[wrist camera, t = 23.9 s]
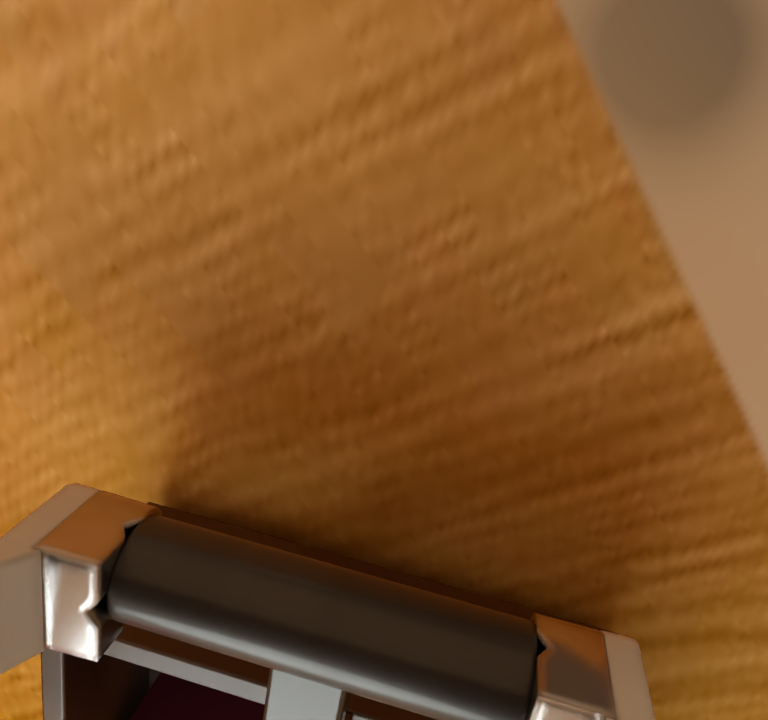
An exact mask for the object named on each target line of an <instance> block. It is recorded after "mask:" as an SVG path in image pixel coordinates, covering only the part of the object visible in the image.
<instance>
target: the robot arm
mask: <svg viewBox="0 0 768 720" xmlns="http://www.w3.org/2000/svg"><path fill="white" fill-rule="evenodd" d="M153 515H160V516H162V511H161V510H160V509H159V508H158V507H156V506H152V505H149V504H146V503H142V502H139V501H136V500H133V499H129V498H126V497H123V496H120V495H116V494H113V493H110V492H107V491H101V490H98V489H95V488H92V487H88V486H85V485H82V484H78V483H73V484H68V485H66V486H65V487H64V488H62V489H61V490H60V491H59V492H57V493H56V494H55V495H54V496H52V497H51V498H50V499H49V500H47V501H46V502H45V503H44V504H42V505H41V506H40V507H39V508H37V509H36V510H35V511H34V512H32V513H31V514H30V515H29V516H27V517H26V518H25V519H24V520H22V521H21V522H20V523H19V524H17V525H16V526H15V527H14V528H12V529H11V530H10V531H9V532H7V533H6V534H5V535H4V536H2V537H1V538H0V674H2V673H4V672H6V671H7V670H9V669H11V668H13V667H15V666H17V665H19V664H20V663H22V662H24V661H26V660H28V659H30V658H31V657H33V656H35V655H37V654H39V653H41V652H43V651H44V647H45V648H48V649H52V650H55V651H59V652H63V653H66V654H70V655H73V656H77V657H80V658H84V659H87V660H91V661H95V662H98V660H99V659H100V658H101V657H102V655H103V654H104V653H105V651H106V650H107V649H108V648H109V646H110V645H111V644H112V643H113V641H114V640H115V639H116V638H117V636H118V635H119V634H120V632H121V631H122V630H123V623H120V622H117V621H115V620H114V619H113V618H112V617H111V616H110V615H109V613H108V610H107V603H106V599H107V592H108V589H109V584H110V580H111V576H112V573H113V570H114V567H115V564H116V562H117V559H118V557H119V555H120V552H121V550H122V549H123V547H124V545H125V541H126V540H127V538H128V537H129V535H130V534H131V532H132V531H133V530H134V528H135V527H136V526H137V525H138V524H139V523H140V522H142V521H143V520H144V519H146V518H147V517H149V516H153ZM530 621H531V622H532V623H534V625H535V628H536V634H537V642H538V649H537V660H536V662H535V670H534V677H533V684H532V689H531V694H530V699H529V704H528V708H527V712H526V716H525V720H656V719H655V714H654V710H653V705H652V701H651V696H650V692H649V687H648V683H647V678H646V674H645V669H644V665H643V660H642V656H641V651H640V647H639V644H638V642H637V641H636V640H635V639H634V638H630V637H626V636H622V635H618V634H615V633H611V632H607V631H603V630H600V631H599V630H596V629H592V628H588V627H585V626H581V625H577V624H574V623H570V622H567V621H563V620H559V619H556V618H552V617H548V616H545V615H541V614H537V613H533V615H532V617H531V618H530Z"/></svg>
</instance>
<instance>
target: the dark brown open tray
mask: <svg viewBox="0 0 768 720" xmlns="http://www.w3.org/2000/svg"><path fill="white" fill-rule="evenodd" d="M147 504H149V505H152V506H156V507H158V508H159V509H160V510H161V511H162V516H160V515H153V516H149V517H147V518H146V519H144V520H143V521H142V522H140V523H139V524H138V525H137V526H136V527H135V528H134V530H133V531H132V532H131V534H130V535H129V537H128V538H127V540H126V541H125V545H124V547H123V549H122V550H121V552H120V555H119V557H118V559H117V562H116V564H115V567H114V570H113V573H112V576H111V580H110V584H109V589H108V592H107V599H106V603H107V610H108V613H109V615H110V616H111V617H112V618H113V619H114V620H115V621H117V622H120V623H123V630H122V631H121V632H120V634H119V635H118V636H117V638H116V639H115V640H114V641H113V643H112V644H111V645H110V646H109V648H108V649H107V650H106V651H105V653H104V654H103V655H102V657H101V658H100V659H99V660H98V662H95V661H91V660H87V659H84V658H80V657H77V656H73V655H70V654H66V653H63V652H59V651H55V650H52V649H48V648H45V647H44V651H43V652H41V673H42V701H43V720H130V718H131V717H132V715H133V714H134V712H135V711H136V709H137V708H138V706H139V704H140V703H141V701H142V700H143V698H144V697H145V695H146V694H147V692H148V691H149V689H150V688H151V686H152V685H153V683H154V682H155V680H156V679H157V677H158V676H159V674H160V673H161V672H162V673H165V674H168V675H171V676H174V677H177V678H181V679H184V680H187V681H190V682H193V683H197V684H200V685H203V686H206V687H209V688H212V689H216V690H219V691H222V692H225V693H228V694H232V695H235V696H238V697H241V698H244V699H247V700H251V701H254V702H257V703H260V704H263V705H265V706H264V713H263V720H525V716H526V712H527V708H528V704H529V699H530V694H531V689H532V684H533V677H534V670H535V662H536V660H537V649H538V642H537V634H536V628H535V625H534V623H532V622H531V621H530V618H531V617H532V615H533V613H537V614H541V615H545V616H548V617H552V618H556V619H559V620H563V621H567V622H570V623H574V624H577V625H581V626H585V627H588V628H592V629H596V630H599V631H600V630H603V631H607V630H604V629H600V628H597V627H593V626H589V625H586V624H582V623H579V622H575V621H572V620H568V619H564V618H561V617H557V616H554V615H550V614H547V613H543V612H540V611H536V610H532V609H529V608H525V607H522V606H518V605H515V604H511V603H507V602H504V601H500V600H497V599H493V598H490V597H486V596H483V595H479V594H475V593H472V592H468V591H465V590H461V589H458V588H454V587H450V586H447V585H443V584H440V583H436V582H433V581H429V580H426V579H422V578H418V577H415V576H411V575H408V574H404V573H401V572H397V571H393V570H390V569H386V568H383V567H379V566H376V565H372V564H369V563H365V562H361V561H358V560H354V559H351V558H347V557H344V556H340V555H336V554H333V553H329V552H326V551H322V550H319V549H315V548H312V547H308V546H304V545H301V544H297V543H294V542H290V541H287V540H283V539H280V538H276V537H272V536H269V535H265V534H262V533H258V532H255V531H251V530H247V529H244V528H240V527H237V526H233V525H230V524H226V523H223V522H219V521H215V520H212V519H208V518H205V517H201V516H198V515H194V514H190V513H187V512H183V511H180V510H176V509H173V508H169V507H166V506H162V505H158V504H155V503H151V502H149V503H147ZM607 632H611V631H607ZM611 633H614V632H611ZM615 634H618V633H615ZM618 635H619V634H618Z"/></svg>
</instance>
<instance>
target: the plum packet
mask: <svg viewBox="0 0 768 720" xmlns="http://www.w3.org/2000/svg"><path fill="white" fill-rule="evenodd" d="M264 706H265V705H263V704H260V703H257V702H254V701H251V700H247V699H244V698H241V697H238V696H235V695H232V694H228V693H225V692H222V691H219V690H216V689H212V688H209V687H206V686H203V685H200V684H197V683H193V682H190V681H187V680H184V679H181V678H177V677H174V676H171V675H168V674H165V673H162V672H161V673H160V674H159V676H158V677H157V679H156V680H155V682H154V683H153V685H152V686H151V688H150V689H149V691H148V692H147V694H146V695H145V697H144V698H143V700H142V701H141V703H140V704H139V706H138V708H137V709H136V711H135V712H134V714H133V715H132V717H131V718H130V720H263V713H264Z"/></svg>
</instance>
